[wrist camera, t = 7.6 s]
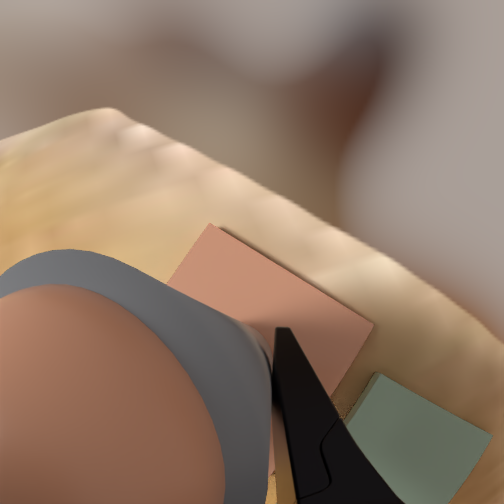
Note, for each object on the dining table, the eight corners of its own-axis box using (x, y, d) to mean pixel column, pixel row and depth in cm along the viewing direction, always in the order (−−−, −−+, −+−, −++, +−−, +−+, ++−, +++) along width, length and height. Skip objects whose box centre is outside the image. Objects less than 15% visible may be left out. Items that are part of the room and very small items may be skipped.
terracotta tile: (369, 325, 17) (374, 324, 16) (264, 476, 15) (263, 483, 14) (212, 228, 19) (209, 222, 18) (116, 373, 17) (108, 374, 16)
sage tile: (485, 432, 14) (493, 435, 13) (394, 551, 12) (398, 557, 11) (375, 371, 16) (380, 373, 15) (269, 510, 14) (269, 517, 13)
